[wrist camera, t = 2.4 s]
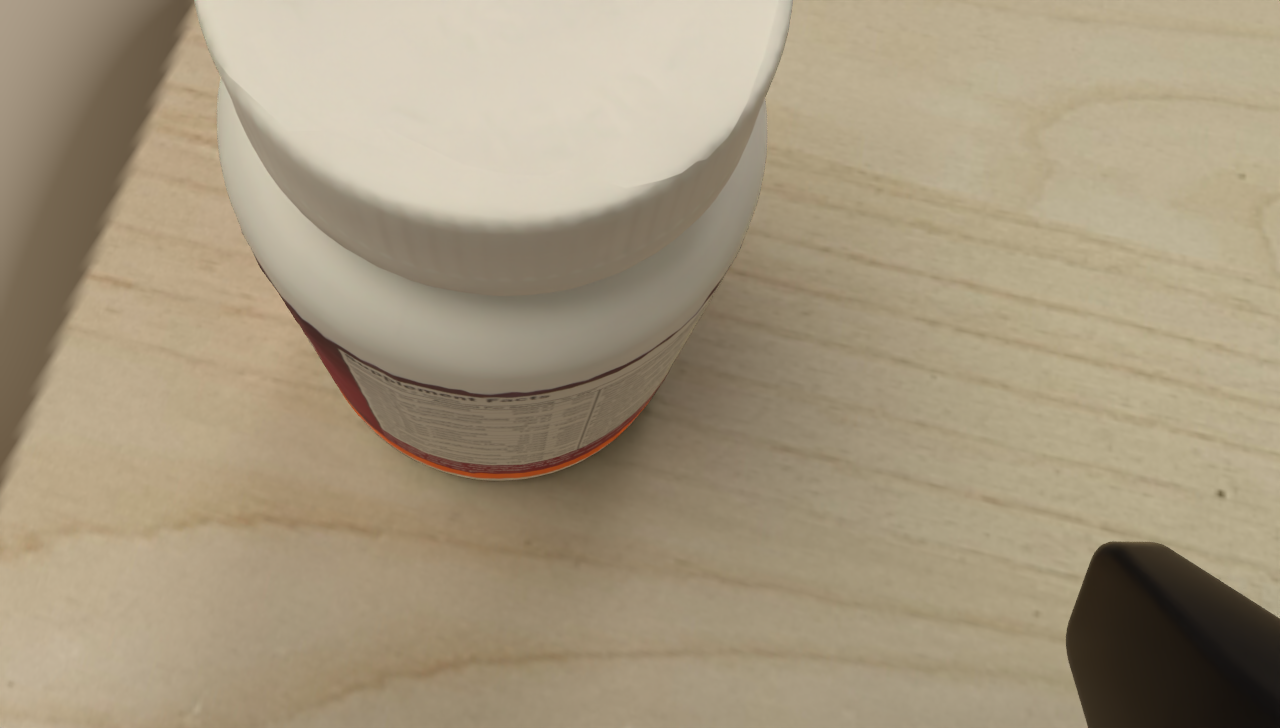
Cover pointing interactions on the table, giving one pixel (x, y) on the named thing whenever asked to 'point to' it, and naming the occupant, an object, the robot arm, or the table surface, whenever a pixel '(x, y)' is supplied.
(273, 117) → the pill bottle
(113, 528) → the table surface
